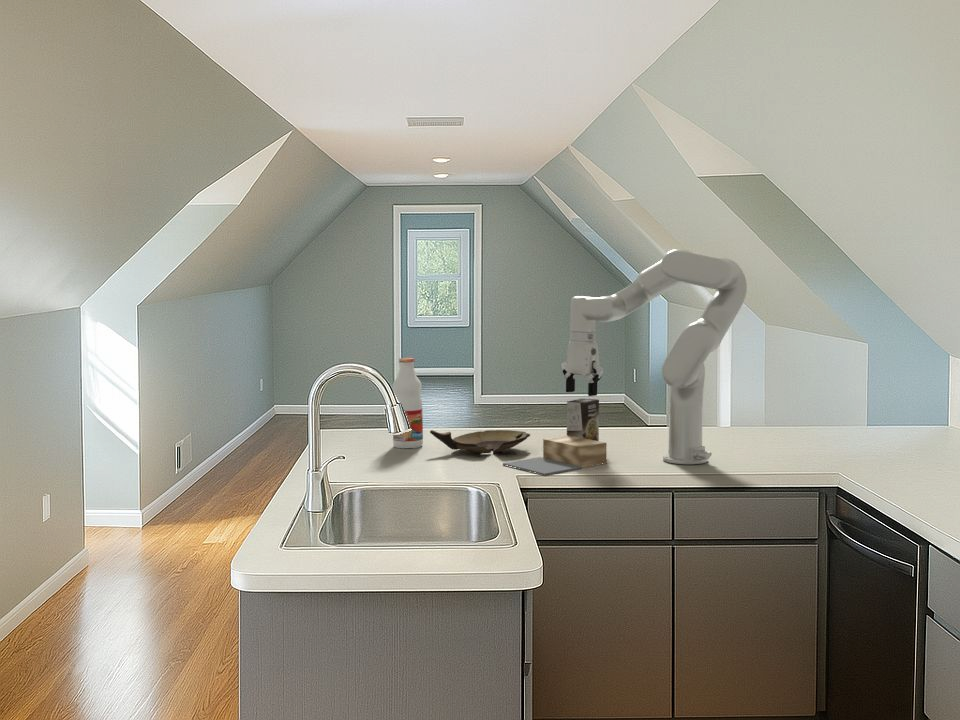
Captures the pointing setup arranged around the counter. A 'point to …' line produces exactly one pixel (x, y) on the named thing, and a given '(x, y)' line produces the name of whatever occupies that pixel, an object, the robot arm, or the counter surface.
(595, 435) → the coffee box
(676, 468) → the counter surface
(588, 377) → the robot arm
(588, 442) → the oak step
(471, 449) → the brown shallow curved piece
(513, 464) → the rubber mat
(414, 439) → the fruit juice
